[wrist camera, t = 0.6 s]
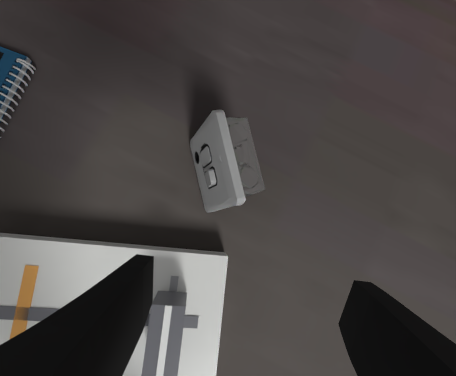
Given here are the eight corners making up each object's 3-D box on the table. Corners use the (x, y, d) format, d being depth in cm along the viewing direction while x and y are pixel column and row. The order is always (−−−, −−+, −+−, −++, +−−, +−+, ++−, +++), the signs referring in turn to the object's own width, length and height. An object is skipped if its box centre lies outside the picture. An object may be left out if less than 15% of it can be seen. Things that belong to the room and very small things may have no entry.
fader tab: (179, 353, 24) (176, 381, 20) (149, 352, 24) (140, 380, 20) (187, 292, 25) (185, 306, 21) (158, 290, 25) (151, 304, 21)
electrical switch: (188, 142, 30) (196, 109, 21) (226, 136, 32) (248, 102, 23) (205, 213, 30) (220, 210, 21) (243, 204, 31) (273, 197, 22)
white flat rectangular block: (211, 375, 27) (214, 395, 24) (-31, 370, 24) (-63, 392, 21) (224, 252, 29) (228, 256, 26) (1, 232, 26) (-25, 234, 23)
